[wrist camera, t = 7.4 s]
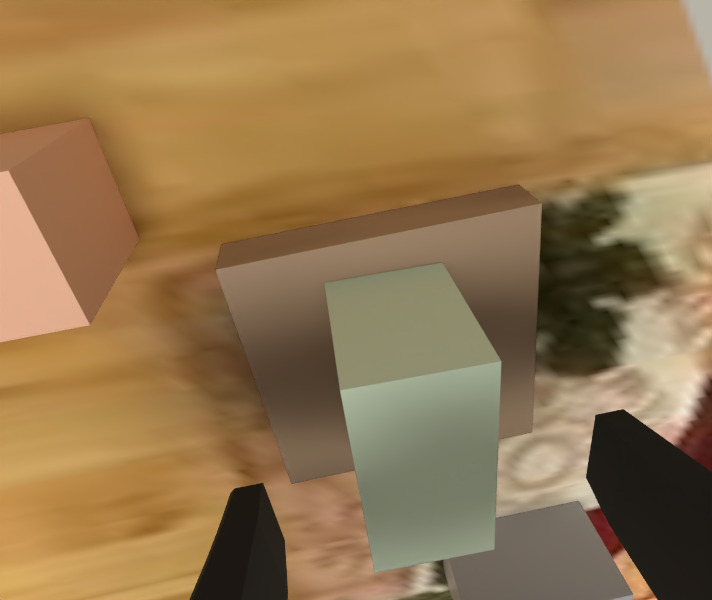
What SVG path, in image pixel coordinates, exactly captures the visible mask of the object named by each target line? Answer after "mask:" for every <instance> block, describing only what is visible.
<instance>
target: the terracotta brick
mask: <svg viewBox="0 0 712 600" xmlns="http://www.w3.org/2000/svg"><path fill="white" fill-rule="evenodd" d="M138 241H139V237H138V235H137V232H136V230H135V228H134V225H133V223H132V220H131V218H130V216H129V213H128V211H127V208H126V206H125V204H124V201H123V199H122V196H121V194H120V192H119V189H118V187H117V184H116V182H115V180H114V177H113V175H112V172H111V170H110V168H109V165H108V163H107V160H106V158H105V156H104V153H103V151H102V148H101V146H100V144H99V141H98V139H97V137H96V134H95V132H94V129H93V127H92V125H91V122H90V120H89V118H86V119H81V120H75V121H70V122H64V123H58V124H53V125H47V126H42V127H36V128H30V129H25V130H19V131H13V132H8V133H2V134H0V342H4V341H9V340H14V339H19V338H24V337H30V336H35V335H40V334H45V333H51V332H56V331H61V330H66V329H72V328H77V327H82V326H87V325H90V324H91V322H92V321H93V319H94V317H95V315H96V314H97V312H98V310H99V308H100V307H101V305H102V303H103V301H104V300H105V298H106V296H107V294H108V293H109V291H110V289H111V287H112V286H113V284H114V282H115V281H116V279H117V277H118V275H119V274H120V272H121V270H122V268H123V267H124V265H125V263H126V261H127V260H128V258H129V256H130V254H131V253H132V251H133V249H134V248H135V246H136V244H137V242H138Z"/></svg>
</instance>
